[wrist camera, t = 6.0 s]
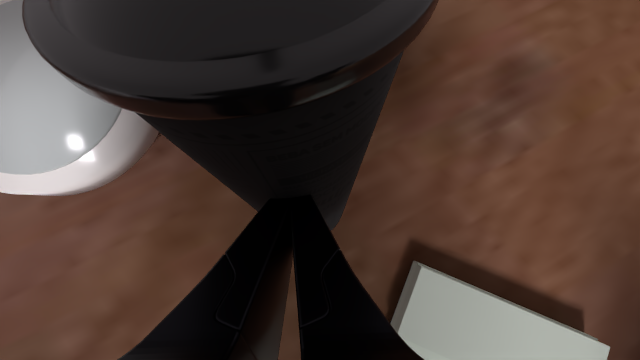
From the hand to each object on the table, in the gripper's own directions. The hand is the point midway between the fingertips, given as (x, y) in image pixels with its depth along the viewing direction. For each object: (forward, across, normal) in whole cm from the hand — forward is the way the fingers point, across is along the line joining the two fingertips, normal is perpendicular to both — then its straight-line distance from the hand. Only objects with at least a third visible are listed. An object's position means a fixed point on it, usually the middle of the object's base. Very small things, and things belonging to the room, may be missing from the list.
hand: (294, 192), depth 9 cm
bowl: (+11, +14, +2) cm, 18 cm away
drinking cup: (+6, 0, +6) cm, 8 cm away
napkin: (-2, -11, +14) cm, 18 cm away
